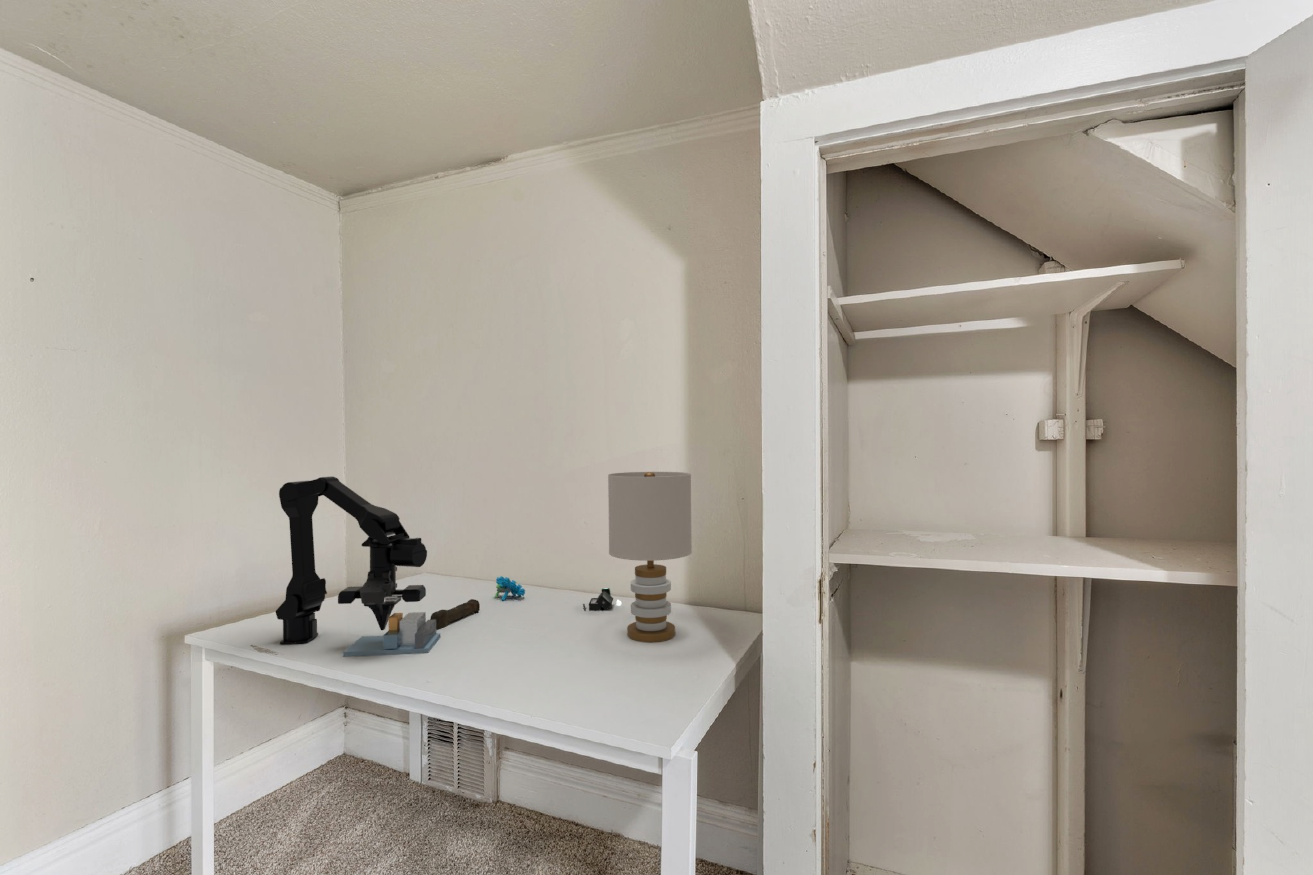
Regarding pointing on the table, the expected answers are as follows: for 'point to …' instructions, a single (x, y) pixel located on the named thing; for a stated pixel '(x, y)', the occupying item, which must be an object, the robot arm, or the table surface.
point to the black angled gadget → (601, 601)
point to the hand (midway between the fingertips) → (382, 629)
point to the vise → (375, 646)
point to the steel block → (411, 627)
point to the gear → (508, 587)
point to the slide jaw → (393, 632)
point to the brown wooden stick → (455, 613)
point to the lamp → (650, 541)
